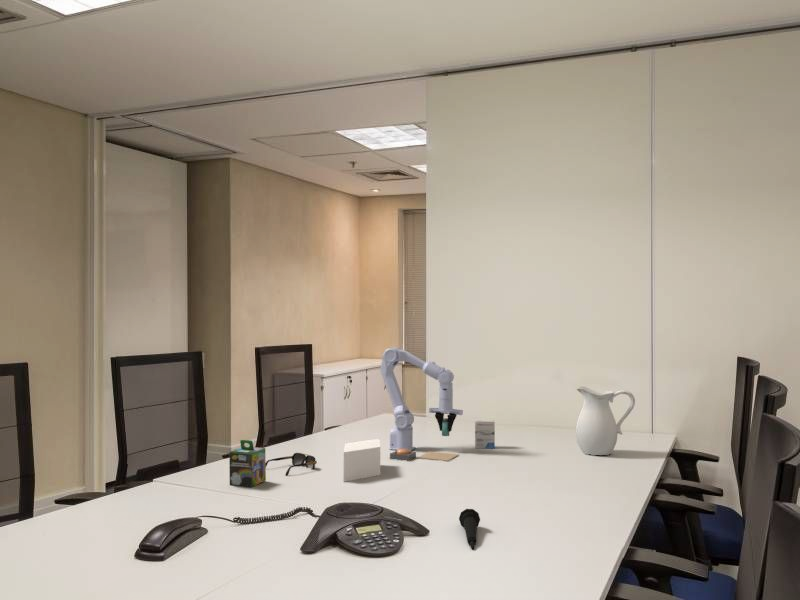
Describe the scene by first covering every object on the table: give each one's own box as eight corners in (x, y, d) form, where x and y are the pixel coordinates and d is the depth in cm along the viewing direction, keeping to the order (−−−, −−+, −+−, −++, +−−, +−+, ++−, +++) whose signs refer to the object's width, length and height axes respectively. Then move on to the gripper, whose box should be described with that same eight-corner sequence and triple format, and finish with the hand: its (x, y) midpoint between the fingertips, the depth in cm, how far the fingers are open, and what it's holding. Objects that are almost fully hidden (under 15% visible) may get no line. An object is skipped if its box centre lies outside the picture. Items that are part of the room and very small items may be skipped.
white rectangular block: (396, 467, 257) (396, 440, 257) (362, 484, 230) (362, 454, 231) (362, 463, 263) (362, 437, 263) (325, 479, 236) (325, 450, 236)
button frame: (389, 459, 271) (389, 453, 271) (398, 455, 278) (398, 450, 278) (408, 460, 267) (408, 455, 268) (415, 457, 275) (415, 451, 275)
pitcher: (573, 455, 281) (573, 388, 282) (578, 448, 297) (578, 385, 298) (633, 460, 272) (633, 391, 273) (635, 453, 288) (635, 387, 289)
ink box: (494, 446, 299) (494, 420, 299) (494, 448, 294) (494, 421, 294) (474, 446, 300) (475, 419, 300) (475, 448, 295) (475, 421, 295)
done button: (394, 455, 272) (394, 450, 272) (399, 453, 276) (399, 448, 276) (406, 456, 269) (406, 451, 270) (411, 454, 274) (411, 449, 274)
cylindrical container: (440, 435, 285) (440, 419, 286) (443, 434, 288) (443, 418, 289) (447, 436, 284) (447, 419, 284) (450, 435, 287) (450, 418, 287)
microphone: (479, 562, 167) (475, 527, 186) (487, 541, 166) (481, 508, 186) (458, 555, 167) (456, 520, 187) (466, 534, 166) (463, 502, 186)
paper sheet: (417, 458, 273) (417, 457, 273) (429, 452, 285) (429, 451, 285) (448, 461, 267) (448, 460, 267) (458, 455, 279) (458, 454, 279)
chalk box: (266, 481, 233) (266, 438, 233) (252, 487, 224) (252, 442, 224) (243, 479, 236) (243, 436, 236) (228, 485, 227) (228, 441, 227)
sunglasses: (262, 470, 250) (263, 457, 250) (295, 464, 261) (295, 451, 261) (285, 477, 241) (286, 463, 241) (318, 470, 252) (318, 456, 252)
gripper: (465, 398, 287) (464, 430, 287) (433, 396, 293) (433, 428, 293) (459, 400, 281) (459, 433, 281) (427, 398, 287) (427, 430, 286)
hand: (445, 430), depth 286 cm, fingers closed on cylindrical container, 3 cm apart
